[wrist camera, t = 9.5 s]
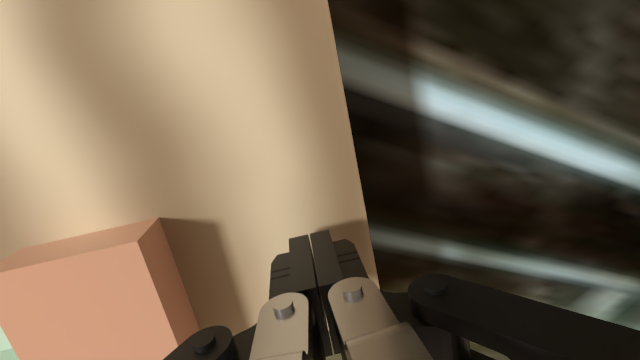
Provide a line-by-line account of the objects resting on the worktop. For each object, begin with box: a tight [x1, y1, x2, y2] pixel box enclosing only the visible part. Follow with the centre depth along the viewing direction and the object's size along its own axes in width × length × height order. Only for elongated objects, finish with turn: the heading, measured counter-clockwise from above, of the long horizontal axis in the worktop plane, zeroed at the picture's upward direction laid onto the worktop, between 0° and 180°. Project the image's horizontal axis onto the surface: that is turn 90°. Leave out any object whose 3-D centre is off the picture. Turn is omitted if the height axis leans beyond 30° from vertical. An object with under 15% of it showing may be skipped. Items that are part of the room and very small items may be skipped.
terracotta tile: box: [0, 217, 200, 360], centre depth 13 cm, size 5×5×2 cm
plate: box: [0, 0, 380, 336], centre depth 14 cm, size 14×16×4 cm
